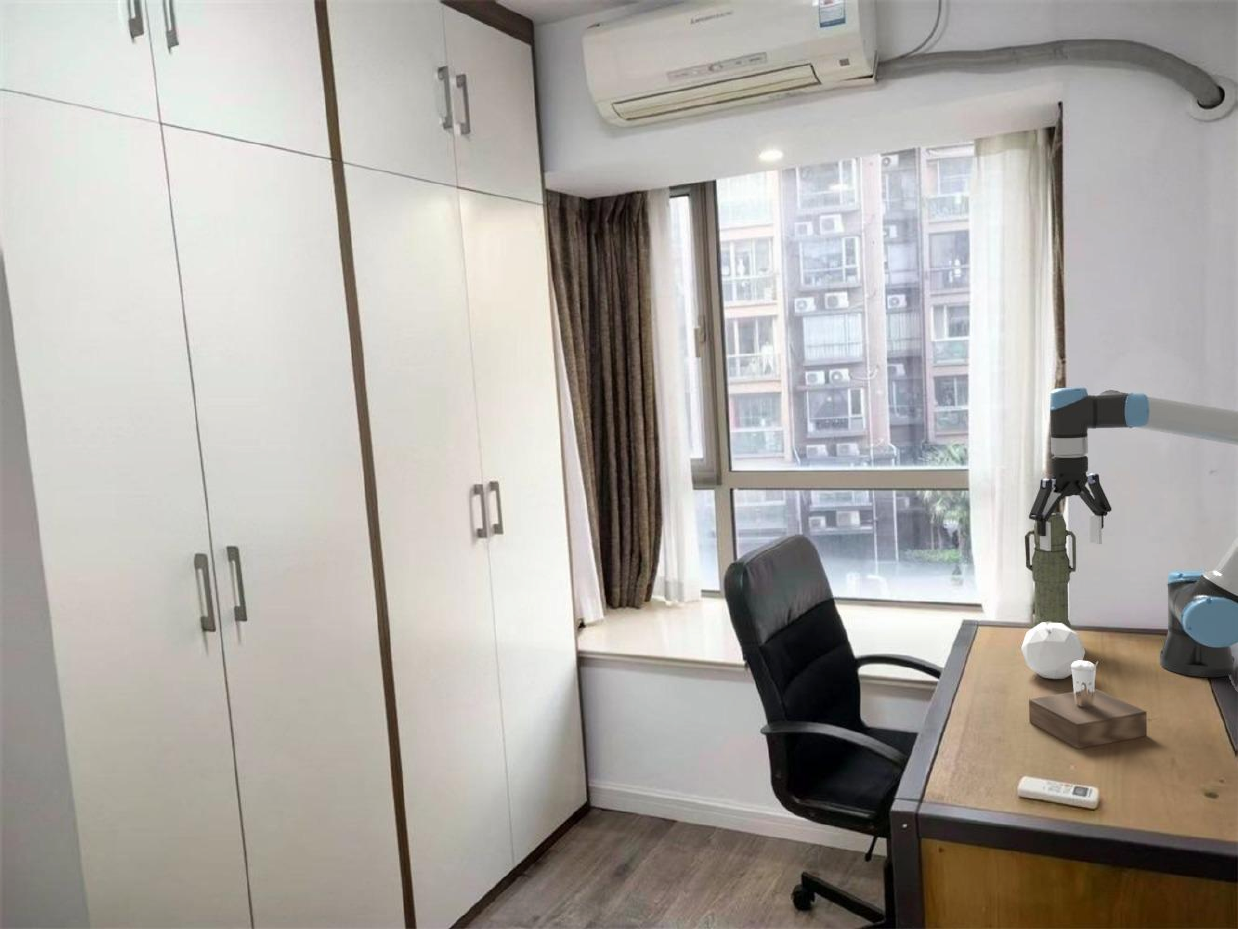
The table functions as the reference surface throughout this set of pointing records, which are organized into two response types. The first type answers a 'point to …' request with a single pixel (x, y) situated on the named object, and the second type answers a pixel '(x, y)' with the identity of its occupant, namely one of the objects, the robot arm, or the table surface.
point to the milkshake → (1083, 682)
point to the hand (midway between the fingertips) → (1070, 546)
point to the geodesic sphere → (1052, 650)
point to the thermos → (1051, 572)
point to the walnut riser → (1088, 719)
